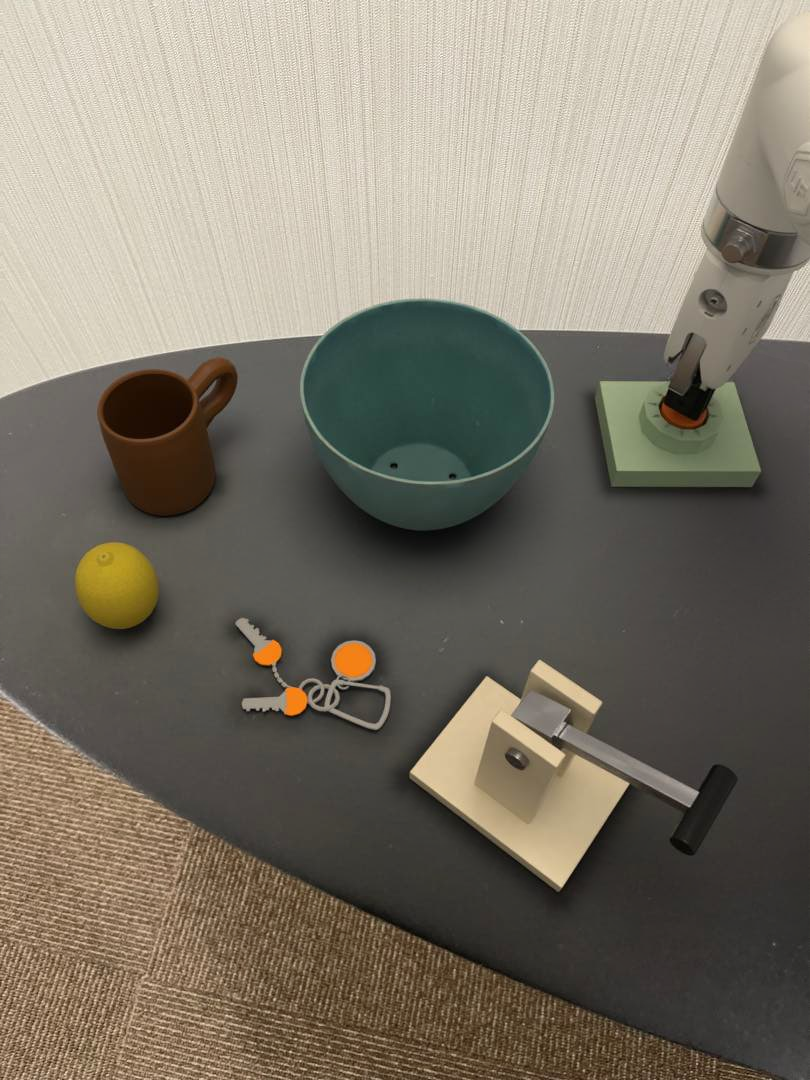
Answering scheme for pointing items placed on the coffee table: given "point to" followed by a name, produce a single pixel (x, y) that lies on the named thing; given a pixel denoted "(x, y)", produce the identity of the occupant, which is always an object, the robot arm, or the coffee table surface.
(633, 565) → the coffee table surface
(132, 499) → the mug
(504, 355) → the plant pot
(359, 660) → the key chain
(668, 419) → the button
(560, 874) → the bracket
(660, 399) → the button block
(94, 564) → the lemon
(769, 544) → the coffee table surface
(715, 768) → the lever
